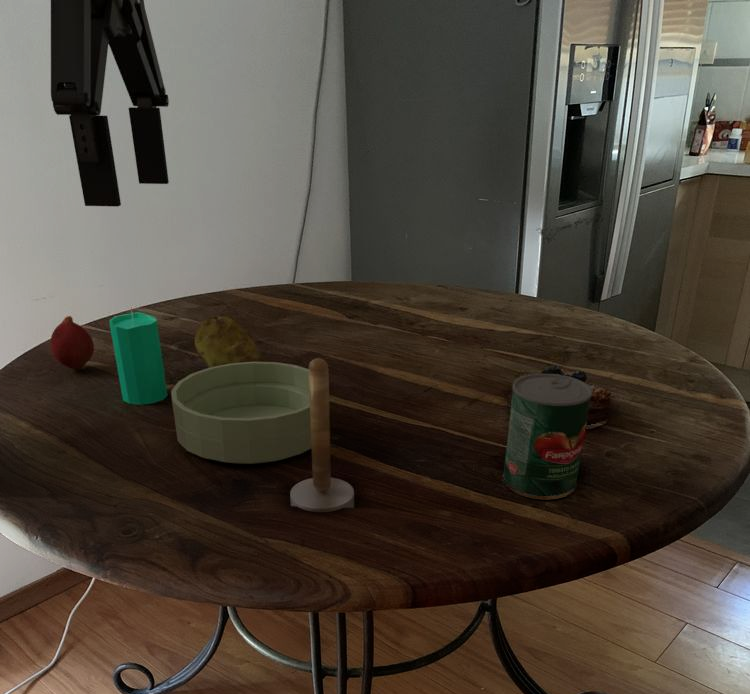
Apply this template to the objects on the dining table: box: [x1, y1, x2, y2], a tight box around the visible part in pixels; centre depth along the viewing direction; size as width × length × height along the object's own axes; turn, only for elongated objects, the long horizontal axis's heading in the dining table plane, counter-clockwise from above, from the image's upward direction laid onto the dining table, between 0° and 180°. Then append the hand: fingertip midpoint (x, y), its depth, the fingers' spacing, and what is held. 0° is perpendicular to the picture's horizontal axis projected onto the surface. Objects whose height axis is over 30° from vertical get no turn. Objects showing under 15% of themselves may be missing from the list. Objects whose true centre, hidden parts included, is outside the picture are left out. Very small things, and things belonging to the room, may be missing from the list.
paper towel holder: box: [289, 357, 355, 513], centre depth 70 cm, size 6×6×16 cm
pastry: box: [507, 365, 612, 425], centre depth 94 cm, size 11×12×6 cm
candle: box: [109, 307, 168, 406], centre depth 96 cm, size 6×6×12 cm
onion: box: [49, 315, 95, 371], centre depth 106 cm, size 6×6×8 cm
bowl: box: [170, 361, 331, 465], centre depth 88 cm, size 18×18×6 cm
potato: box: [194, 314, 265, 368], centre depth 104 cm, size 8×13×8 cm, turn 22°
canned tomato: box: [502, 373, 592, 496], centre depth 77 cm, size 8×8×11 cm
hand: (130, 194), depth 66 cm, fingers open, 13 cm apart
